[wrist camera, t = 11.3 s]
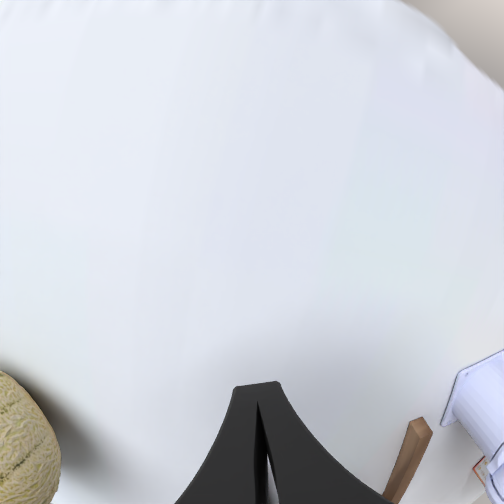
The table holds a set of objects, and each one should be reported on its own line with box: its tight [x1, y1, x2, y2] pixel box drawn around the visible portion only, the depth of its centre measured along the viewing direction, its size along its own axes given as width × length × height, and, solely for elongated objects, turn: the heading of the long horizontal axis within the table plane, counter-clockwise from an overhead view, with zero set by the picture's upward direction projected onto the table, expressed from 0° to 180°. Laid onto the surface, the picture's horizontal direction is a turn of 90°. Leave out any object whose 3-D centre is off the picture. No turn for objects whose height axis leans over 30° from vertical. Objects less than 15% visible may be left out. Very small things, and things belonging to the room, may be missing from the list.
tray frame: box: [268, 417, 433, 504], centre depth 24 cm, size 18×18×2 cm
